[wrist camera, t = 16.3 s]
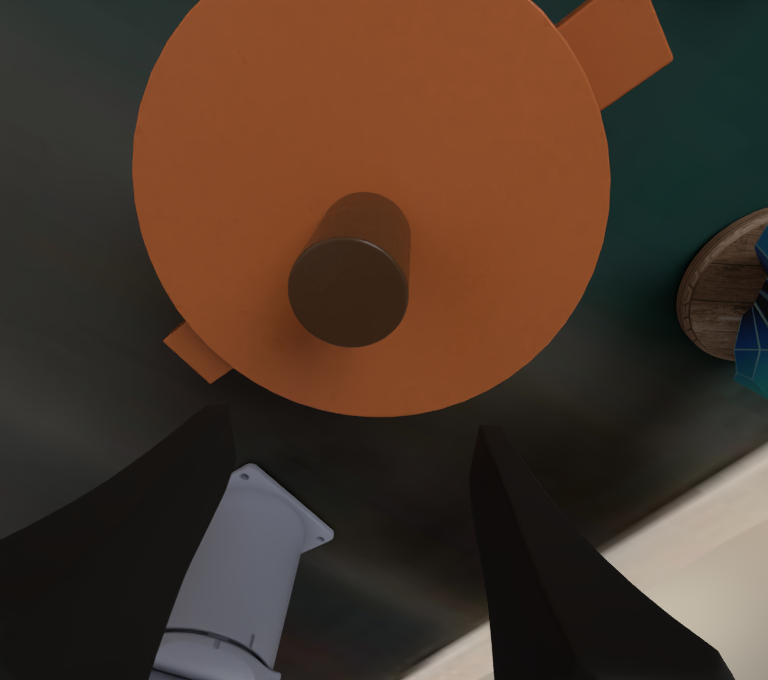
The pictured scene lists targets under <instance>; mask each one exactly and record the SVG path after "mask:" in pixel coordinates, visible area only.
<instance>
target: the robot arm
mask: <svg viewBox="0 0 768 680" xmlns="http://www.w3.org/2000/svg"><path fill="white" fill-rule="evenodd" d="M235 461H236V453H235V446H234V440H233V434H232V428H231V422H230V416H229V409H228V406H220V405H206V406H205V407H203V408H202V409H201V410H199V411H198V412H197V413H196V414H195V415H193V416H192V417H191V418H190V419H188V420H187V421H186V422H185V423H183V424H182V425H181V426H180V427H179V428H177V429H176V430H175V431H174V432H172V433H171V434H170V435H169V436H167V437H166V438H165V439H163V440H162V441H161V442H160V443H158V444H157V445H156V446H155V447H153V448H152V449H151V450H149V451H148V452H147V453H145V454H144V455H143V456H141V457H140V458H138V459H137V460H136V461H134V462H133V463H132V464H130V465H129V466H127V467H126V468H125V469H123V470H122V471H120V472H119V473H118V474H116V475H115V476H113V477H112V478H110V479H109V480H107V481H106V482H104V483H103V484H101V485H100V486H98V487H96V488H95V489H93V490H92V491H90V492H88V493H87V494H85V495H83V496H82V497H80V498H78V499H77V500H75V501H73V502H72V503H70V504H68V505H66V506H64V507H63V508H61V509H59V510H57V511H55V512H53V513H52V514H50V515H48V516H46V517H44V518H42V519H40V520H39V521H37V522H35V523H33V524H31V525H29V526H27V527H25V528H23V529H21V530H19V531H17V532H15V533H13V534H11V535H9V536H7V537H5V538H3V539H1V540H0V680H280V678H281V674H280V673H279V672H276V671H273V667H274V662H275V658H276V654H277V650H278V646H279V642H280V638H281V633H282V629H283V625H284V621H285V617H286V613H287V609H288V605H289V600H290V596H291V592H292V588H293V584H294V580H295V576H296V571H297V567H298V563H299V559H300V555H301V553H304V552H306V551H308V550H310V549H312V548H315V547H317V546H319V545H321V544H324V543H326V542H328V541H330V540H332V539H333V536H334V531H333V530H332V529H331V528H330V527H329V526H327V525H326V524H325V523H324V522H323V521H322V520H320V519H319V518H318V517H317V516H316V515H315V514H313V513H312V512H311V511H310V510H309V509H307V508H306V507H305V506H304V505H303V504H302V503H300V502H299V501H298V500H297V499H296V498H295V497H293V496H292V495H291V494H290V493H289V492H288V491H286V490H285V489H284V488H283V487H282V486H280V485H279V484H278V483H277V482H276V481H275V480H273V479H272V478H271V477H270V476H269V475H268V474H266V473H265V472H264V471H263V470H262V469H261V468H259V467H258V466H257V465H255V464H250V463H249V464H246V465H244V466H242V467H241V468H239V469H237V470H236V471H234V472H232V471H233V468H234V464H235ZM245 474H246V475H245ZM469 480H470V497H471V510H472V516H473V522H474V528H475V533H476V539H477V544H478V550H479V555H480V560H481V566H482V571H483V576H484V582H485V587H486V594H487V601H488V609H489V620H490V631H491V642H492V655H493V668H494V680H735V679H734V677H733V675H732V673H731V672H730V670H729V668H728V667H727V665H726V663H725V662H724V661H723V659H722V657H721V655H720V653H719V652H718V651H717V650H716V649H715V648H713V647H712V646H711V645H709V644H708V643H707V642H705V641H704V640H703V639H701V638H700V637H699V636H697V635H696V634H694V633H693V632H692V631H690V630H689V629H688V628H686V627H685V626H684V625H682V624H681V623H680V622H678V621H677V620H675V619H674V618H673V617H672V616H670V615H669V614H668V613H667V612H665V611H664V610H663V609H662V608H660V607H659V606H658V605H657V604H656V603H654V602H653V601H652V600H650V599H649V598H648V597H647V596H646V595H645V594H643V593H642V592H641V591H640V590H639V589H638V588H636V587H635V586H634V585H633V584H632V583H631V582H630V581H628V580H627V579H626V578H625V577H624V576H623V575H622V574H621V573H620V572H619V571H618V570H617V569H615V568H614V567H613V566H612V565H611V564H610V563H609V562H608V561H607V560H606V559H605V558H604V557H603V556H602V555H601V554H600V553H599V552H598V551H597V550H596V549H595V548H594V547H593V546H592V545H591V544H590V543H589V542H588V541H587V540H586V539H585V538H584V537H583V536H582V535H581V534H580V533H579V531H578V530H577V529H576V528H575V527H574V526H573V525H572V524H571V522H570V521H569V520H568V519H567V518H566V517H565V515H564V514H563V513H562V512H561V510H560V509H559V508H558V507H557V506H556V504H555V503H554V502H553V501H552V499H551V498H550V497H549V495H548V494H547V493H546V492H545V490H544V489H543V487H542V486H541V485H540V483H539V482H538V481H537V479H536V478H535V476H534V475H533V474H532V472H531V471H530V469H529V468H528V466H527V465H526V464H525V462H524V461H523V459H522V458H521V456H520V455H519V453H518V451H517V450H516V448H515V447H514V445H513V444H512V442H511V440H510V439H509V437H508V435H507V434H506V432H505V431H504V429H503V428H502V427H497V426H484V425H479V431H478V436H477V441H476V446H475V451H474V456H473V461H472V466H471V471H470V476H469Z"/></svg>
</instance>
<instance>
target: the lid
mask: <svg viewBox="0 0 768 680" xmlns="http://www.w3.org/2000/svg"><path fill="white" fill-rule="evenodd" d="M132 174H133V187H134V199H135V206H136V211H137V215H138V220H139V225H140V230H141V234H142V237H143V240H144V243H145V246H146V249H147V251H148V254H149V257H150V260H151V262H152V265H153V267H154V269H155V271H156V273H157V275H158V277H159V279H160V282H161V284H162V286H163V287H164V289H165V291H166V292H167V294H168V296H169V297H170V299H171V300H172V302H173V304H174V305H175V307H176V309H177V310H178V311H179V313H180V314H181V315H182V317H183V318H184V319H185V320H186V322H187V323H188V324H189V326H190V327H191V328H192V329H193V331H194V332H195V333H196V334H197V335H198V336H199V337H200V338H201V339H202V340H203V341H204V342H205V343H206V344H207V345H208V346H209V348H210V349H211V350H212V351H214V352H215V353H216V354H217V355H218V356H220V357H221V358H222V359H223V360H224V361H225V362H227V363H228V364H229V365H230V366H231V367H233V368H234V369H236V370H237V371H239V372H240V373H241V374H243V375H244V376H246V377H247V378H249V379H250V380H252V381H253V382H255V383H257V384H259V385H261V386H262V387H264V388H266V389H268V390H270V391H272V392H273V393H275V394H278V395H280V396H283V397H285V398H287V399H290V400H292V401H294V402H297V403H300V404H303V405H306V406H310V407H313V408H316V409H319V410H323V411H328V412H334V413H339V414H344V415H353V416H363V417H396V416H405V415H415V414H420V413H425V412H430V411H434V410H439V409H442V408H445V407H448V406H451V405H454V404H458V403H461V402H464V401H466V400H468V399H470V398H472V397H475V396H477V395H479V394H481V393H483V392H486V391H487V390H489V389H491V388H493V387H494V386H496V385H498V384H499V383H501V382H503V381H504V380H506V379H508V378H509V377H510V376H512V375H513V374H514V373H516V372H517V371H518V370H520V369H521V368H522V367H524V366H525V365H526V364H528V363H529V362H530V361H531V360H532V359H533V358H534V357H535V356H536V355H537V354H538V353H539V352H540V351H541V350H542V349H543V348H544V347H546V346H547V345H548V344H549V342H550V341H551V340H552V339H553V337H554V336H555V335H556V334H557V333H558V331H559V330H560V329H561V328H562V327H563V325H564V324H565V323H566V321H567V320H568V318H569V317H570V315H571V313H572V312H573V310H574V309H575V307H576V306H577V304H578V302H579V301H580V299H581V297H582V295H583V293H584V291H585V289H586V287H587V285H588V283H589V281H590V278H591V276H592V274H593V272H594V269H595V266H596V263H597V260H598V257H599V254H600V251H601V248H602V244H603V240H604V235H605V230H606V224H607V219H608V214H609V200H610V180H611V177H610V166H609V154H608V144H607V139H606V135H605V131H604V126H603V122H602V118H601V113H600V109H599V106H598V104H597V101H596V99H595V96H594V94H593V91H592V88H591V86H590V83H589V81H588V78H587V76H586V74H585V72H584V70H583V68H582V67H581V65H580V63H579V61H578V60H577V58H576V56H575V54H574V53H573V51H572V49H571V47H570V46H569V44H568V42H567V41H566V40H565V38H564V37H563V36H562V34H561V33H560V32H559V31H558V29H557V28H556V27H555V26H554V24H553V23H552V22H551V21H550V19H549V18H548V17H547V16H546V14H545V13H544V12H543V11H542V10H541V9H540V8H539V7H538V6H537V5H536V4H535V3H534V2H532V1H531V0H200V1H199V2H198V3H197V4H196V5H195V6H194V7H193V8H192V9H191V10H190V11H189V12H188V14H187V15H186V16H185V18H184V19H183V21H182V22H181V23H180V25H179V26H178V27H177V29H176V30H175V31H174V33H173V34H172V36H171V37H170V38H169V40H168V41H167V43H166V45H165V47H164V49H163V51H162V53H161V55H160V57H159V59H158V60H157V62H156V64H155V66H154V68H153V70H152V72H151V75H150V78H149V81H148V84H147V87H146V89H145V92H144V95H143V98H142V101H141V104H140V108H139V114H138V119H137V124H136V130H135V135H134V146H133V165H132Z"/></svg>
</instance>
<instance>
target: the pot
mask: <svg viewBox="0 0 768 680" xmlns="http://www.w3.org/2000/svg"><path fill="white" fill-rule="evenodd" d="M555 27H556V28H557V29H558V31H559V32H560V33H561V34H562V36H563V37H564V38H565V40H566V41H567V42H568V44H569V46H570V47H571V49H572V51H573V53H574V54H575V56H576V58H577V60H578V61H579V63H580V65H581V67H582V68H583V70H584V72H585V74H586V76H587V78H588V81H589V83H590V86H591V88H592V91H593V94H594V96H595V99H596V101H597V104H598V106H599V109H600V111H602V110H603V109H605V108H606V107H608V106H609V105H610V104H612V103H613V102H615V101H616V100H618V99H619V98H620V97H622V96H623V95H625V94H626V93H628V92H629V91H630V90H632V89H633V88H635V87H636V86H638V85H639V84H640V83H642V82H643V81H645V80H646V79H648V78H649V77H651V76H652V75H653V74H655V73H656V72H658V71H659V70H661V69H662V68H663V67H665V66H666V65H668V64H669V63H671V61H672V60H673V56H672V53H671V50H670V48H669V45H668V43H667V40H666V38H665V35H664V33H663V30H662V28H661V25H660V23H659V20H658V17H657V15H656V12H655V10H654V7H653V5H652V2H651V0H586V1H585V2H584V3H582V4H581V5H580V6H579V7H577V8H576V9H575V10H574V11H572V12H571V13H570V14H569V15H567V16H566V17H565V18H564V19H562V20H561V21H560V22H559V23H557V24H556V25H555ZM163 342H164V343H165V344H166V345H167V346H168V347H170V348H171V349H172V350H173V351H174V352H175V353H176V354H177V355H178V356H180V357H181V358H182V359H183V360H184V361H185V362H186V363H187V364H189V365H190V366H191V367H192V368H193V369H194V370H195V371H196V372H197V373H199V374H200V375H201V376H202V377H203V378H204V379H205V380H206V381H207V382H209V383H210V384H211V383H213V382H214V381H216V380H217V379H218V378H220V377H221V376H223V375H224V374H226V373H227V372H229V371H230V370H231V369H233V367H231V366H230V365H229V364H228V363H227V362H225V361H224V360H223V359H222V358H221V357H220V356H218V355H217V354H216V353H215V352H214V351H212V350H211V349H210V348H209V346H208V345H207V344H206V343H205V342H204V341H203V340H202V339H201V338H200V337H199V336H198V335H197V334H196V333H195V332H194V331H193V329H192V328H191V327H190V326H189V324H188V323H187V322H186V320H184V321H183V322H182V323H181V324H179V325H178V326H177V327H176V328H174V329H173V330H172V331H171V333H170V334H169V335H168V336H167V337H166V338H165V339H164V340H163Z"/></svg>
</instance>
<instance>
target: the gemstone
mask: <svg viewBox="0 0 768 680" xmlns="http://www.w3.org/2000/svg"><path fill="white" fill-rule="evenodd" d="M676 308H677V316H678V320H679V323H680V326H681V328H682V329H683V331H684V332H685V334H686V335H687V336H688V337H689V339H690V340H691V341H693V342H694V343H695V344H696V345H697V346H698V347H699V348H700V349H702V350H703V351H704V352H706V353H708V354H710V355H712V356H714V357H717V358H721V359H725V360H731V361H735V363H736V368H735V373H734V379H733V380H734V381H736V382H738V383H739V384H741V385H743V386H745V387H747V388H748V389H750V390H752V391H754V392H755V393H757V394H759V395H761V396H762V397H764V398H766V399H768V207H767V208H764V209H761V210H758V211H756V212H753V213H751V214H749V215H747V216H745V217H743V218H741V219H739V220H737V221H736V222H734V223H732V224H731V225H729V226H728V227H726V228H725V229H723V230H722V231H721V232H720V233H718V234H717V235H716V236H715V237H714V238H712V239H711V240H710V241H709V242H708V243H707V244H706V245H705V246H704V247H703V248H702V249H701V251H700V252H699V253H698V254H697V255H696V256H695V258H694V259H693V261H692V262H691V264H690V265H689V267H688V269H687V270H686V272H685V274H684V276H683V278H682V281H681V284H680V286H679V290H678V295H677V303H676Z"/></svg>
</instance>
